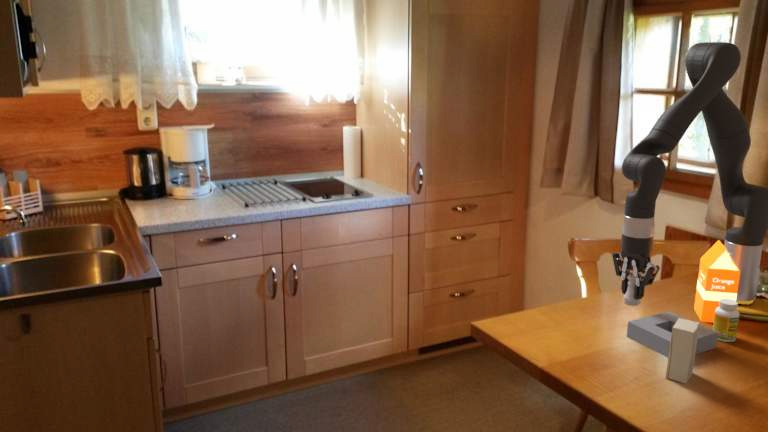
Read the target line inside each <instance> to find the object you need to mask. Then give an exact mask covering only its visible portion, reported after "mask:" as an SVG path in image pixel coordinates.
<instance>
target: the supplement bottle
mask: <svg viewBox="0 0 768 432" xmlns="http://www.w3.org/2000/svg"><path fill="white" fill-rule="evenodd" d="M719 306H720V307H717V308H716V309H715V314H714V322H712V323H713V324H712V328H711V330H713V331H715V332H717V333H718V334H717V341H720V342H725V343H731V342H735V341H736V340H737V335H738V328H739V321H740V312H739V310H738V307H739V305H738V302H736V301H734V300H731V299H720V301H719Z"/></svg>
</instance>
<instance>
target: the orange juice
mask: <svg viewBox="0 0 768 432" xmlns="http://www.w3.org/2000/svg"><path fill="white" fill-rule="evenodd" d="M739 278H740V270H739V269H738V267H737V266H736V264H735V263H734V261H733V259H732V258H731V256H730V255H729V253H728V251H727V249H726V248H725V246H724V244H723V243H722V242H721V240H720V239H718V240H717V241H715V243H714V244H713V245H712V246H711V247H710V248H709V249H707V251H706V252H705V253H704V254H703V255H702V256H701V257H700V258H699V268H698V276H697V281H696V290H695V296H694V297H695V299H694V306H693V309H694V312H695V314H696V315H697V316H698V319H699V320H700V322H702V323H704V322H705V323H713V322H714V314H715V309H716V308H717V307H720V306H719V301H720V299H731V300H734V301H736V299H737V291H738V284H739Z"/></svg>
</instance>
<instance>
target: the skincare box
mask: <svg viewBox="0 0 768 432" xmlns="http://www.w3.org/2000/svg"><path fill="white" fill-rule="evenodd" d="M683 318H684V317H682V318H678V320H677V321H676V322H675V324H674V326H673V328H672V335H671V342H670V349H669V356H668V357H667V364H666V371H665V378H666V379H669V380H672V381H676V382H679V383H681V384H682V383H683V384H685V385H686V384H687V383H688V382H689V380H690V378H691V377H692V374H693V371H694V364H695V356H696V354H695V352H696V345H697V339H698V332H699V325H701V323H700V322H701V321H700V322H699V321H694V320H690V319H687V318H685V319H683Z"/></svg>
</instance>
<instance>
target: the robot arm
mask: <svg viewBox="0 0 768 432" xmlns="http://www.w3.org/2000/svg"><path fill="white" fill-rule="evenodd" d="M741 54H742V53H741V51H740V48H739V46H737V45H735V44H734V43H732V42H724V41H722V42H721V41H718V42H716V41H714V42H713V41H711V42H710V41H709V42H706V41H705V42H697V43H695V44H693V45H691V47H690V48H689V49H688V50H687V53H686V56H685V69H686V73H687V77H688V79H689V82H690V84H691V86H692V88H691V89H690V90H688V91H687V92H686V93H685V94H684V95H682V96H681V97H680V98H679V99H677V100H676V101H674V102H673V103H672V104H671V105H670V106H669V107H667V108H666V109H665V110H664V111H663V113H661V115H660V116H659V118H658V119H657V120H656V122H655V124H654V125H653V126H652V128H651V130H650V131H649V132H648V134H647V135H646V136H645V137H644V138H643V139H642V140H640V142H638V143H637V144H636V145H635V146H634V147H633V148H632V149H631V150H630V151H629V152H628V153H627V154H626V156H625V157H624V159H623V162H622V165H621V172H622V175H623V177H624V178H626V179H627V180H629V181H633V182H637V183H639V186H638V189H637V190H632V191H629V192H628V193H627V194H626V197H625V204H624V216H623V220H622V225H621V226H622V228H621V237H620V238H621V239H620V249H621V251H620V252H615V253H612V255H611V256H612V260H613V266H614V271H615V274H616V276H617V277H620V279H621V293H622V294H623V295H625V293H626V292H627V289H628V281H629V280H628V278H627V276H628V275H629V273H632V274H634V277H635V280H636V286H635V295H634V298H635V299H637V300H638V299H641V300H642V299H643V297H644V296H645V289H646V286H651V285H652V284H653V283H654V280H655V279H656V277H657V274H658V273H659V271H660V269H661V268H660V266H659V265H657V264H656V265H655V264H654V263H652V259H651V253H652V251H653V246H654V245H653V244H654V235H655V223H656V222H655V213H656V201H657V199H658V197H659V194H660V192H661V188H662V187H663V184H664V181H665V178H666V173H667V168H666V163H665V161H664V160H663V159H662V158H661V157H659V156H660V155H663V154H669V153H672V152H673V151H674V150H675V148H676V147H677V145H678V144H679V143H680V141H681V139H682V138H683V136H684V135H685V134H686V131H687V130H688V129H689V127H690V126H691V125H692V123H693V122H694V121H695V119H696V118H697V117H698V116H699V115H700V113H701V115H702V117H703V119H704V123H705V126H706V131H707V135H708V139H709V143H710V146H711V150H712V153H713V156H714V159H715V165H716V168H717V174H718V177H719V183H720V184H719V185H720V191H721V198H722V203H723V206H724V208H725V210H726V211H727V212H728V213H730V215H731V214H732V215H734V216H737V217H741V218H743V223H742V225H741V226H737V227H736V226H735V227H730V228H728V229H726V232H725V237H724V244H723V245H724V246H725V248H726V249H727V251H728V253H729V255H730V256H731V258H732V259H733V261H734V263H735V264H736V266H737V267H738V269H739V270H740V278H739V284H738V291H737V299H736V301H751V300H754V298H756V299H757V294H758V287H759V280H760V275H761V268H760V265H761V261H762V260H761V259H762V252H763V245H764V240H765V237H766V236H767V233H768V187H766V186H762V185H757V184H752V183H748V182H746V180H745V177H744V173H743V168H742V166H743V163H744V161H745V159H746V156H747V154H748V152H749V151H750V148H751V143H752V142H751V141H752V139H751V134H750V130H749V129H750V128H749V126H748V122H747V119H746V117H745V116H744V113H743V112H742V110H740V108H739V107H738V106H737V105H736V104H735V103H734V102H733V100H731V98H730V97H729V96H728V95H727V93H726V92H725V91H724V89H723V88H724V87H726V85H727V83H728V82H730V81H731V79H732V78H733V76H734V75H735V74H736V72H737V71H738V69H739V67H740V65H741V59H742V55H741ZM640 278H641V279H640ZM754 301H755V300H754Z"/></svg>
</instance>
